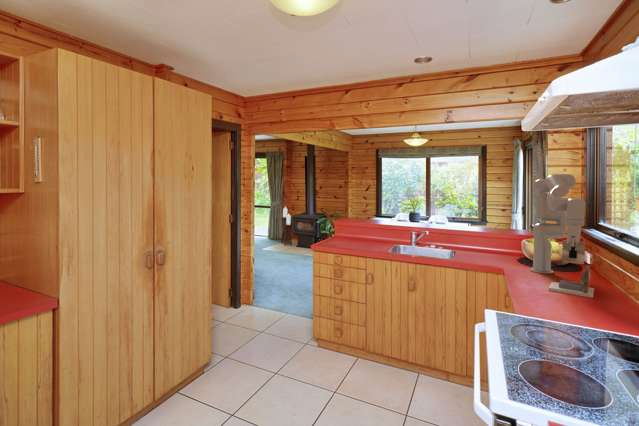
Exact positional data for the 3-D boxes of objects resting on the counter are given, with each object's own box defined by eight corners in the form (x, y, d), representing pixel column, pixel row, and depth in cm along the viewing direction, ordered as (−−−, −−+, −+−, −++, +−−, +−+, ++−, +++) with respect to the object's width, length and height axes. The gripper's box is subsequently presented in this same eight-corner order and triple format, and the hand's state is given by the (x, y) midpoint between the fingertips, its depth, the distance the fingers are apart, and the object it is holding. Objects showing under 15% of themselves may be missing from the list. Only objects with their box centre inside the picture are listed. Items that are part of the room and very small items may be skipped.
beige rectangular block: (562, 260, 175) (563, 240, 174) (584, 263, 169) (585, 242, 168) (561, 261, 172) (562, 241, 172) (583, 264, 166) (584, 242, 166)
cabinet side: (581, 286, 174) (582, 264, 173) (588, 287, 172) (589, 265, 171) (579, 292, 165) (580, 268, 164) (587, 293, 163) (588, 269, 162)
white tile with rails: (551, 284, 183) (552, 277, 183) (593, 291, 171) (594, 283, 171) (548, 290, 173) (548, 282, 172) (592, 297, 161) (593, 289, 160)
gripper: (567, 221, 178) (565, 254, 179) (564, 223, 166) (562, 259, 167) (585, 221, 173) (583, 256, 174) (583, 224, 161) (581, 261, 162)
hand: (573, 257), depth 170 cm, fingers closed on beige rectangular block, 3 cm apart
